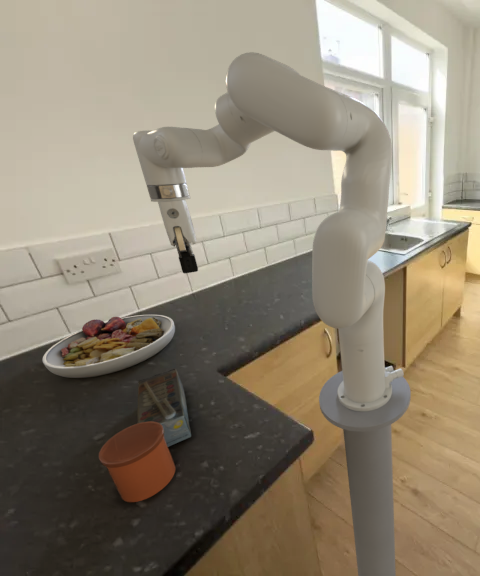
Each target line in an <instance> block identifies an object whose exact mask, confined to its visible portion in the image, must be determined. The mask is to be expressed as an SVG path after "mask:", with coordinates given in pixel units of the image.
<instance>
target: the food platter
mask: <svg viewBox="0 0 480 576" xmlns="http://www.w3.org/2000/svg"><path fill="white" fill-rule="evenodd" d="M175 332H176V325H175V322H174V320H173V319H172V318H171V317H170V316H166V315H163V314H140V315H132V316H131V315H130V316H126V317H120V316H113V317H111V318H109V319H108V321H105V322H104V320H101V319H91V320H89V321H88V322H86V323H84V324H83V325H82V328H81V330H79V331H77V332H75V333H73V334H70V335H68V336H67V337H64V338H62V339H61V340H58V342H56V343H54V344H53V345H52V346H51V347H49V348H48V349H47V351H46V352H44V354H43V356H42V363H43V365H44V367H45V369H47V371H49V372H50V373H52V374H53V375H55V376H58V377H63V378H70V379H86V378H94V377H100V376H104V375H108V374H112V373H115V372H120V371H123V370H126V369H128V368H131V367H133V366H135V365H138V364H141V363H142V362H144V361H146V360H148V359H150V358H152V357H154V356H155V355H157V354H158V353H160V352H161V351H162V350H163V349H165V347H167V346H168V345H169V343H170V342H171V341H172V339H173V337H174V336H175Z"/></svg>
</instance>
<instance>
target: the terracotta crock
mask: <svg viewBox="0 0 480 576" xmlns="http://www.w3.org/2000/svg"><path fill="white" fill-rule="evenodd" d="M98 460H99V461H100V464H101V465H102V466H103V467H105V468H106V470H107V472H108V474H109V476H110V478H111V480H112V482H113V484H114V486H115V488H116V490H117V491H118V494H119V497H120V498H121V500H123V501H124V502H127V503H137V502H138V503H139V502H141V501H145V500H147V499H150V498H151V497H153V496H155V495H157V494H158V493H159V492H160V491H162V490H163V489H164V488H165V487H166V486H167V485H168V484H169V483H170V482H171V481H172V479H173V478H174V476H175V473H176V464H175V461H174V458H173V456H172V453H171V450H170V448H169V447H168V445H167V443H166V440H165V437H164V429H163V426H162V425H161V424H160V423H158V422H153V421H149V422H142V423H138V422H137V423H135V424H133V425H130V426H127V427H126V428H124V429H122V430H120V431H119V432H116V433H115V434H114V435H113V436H111V437H110V438H109V439H108V440H107V441H106V442H105V443H104V444H103V445H102V447H101V448H100V450H99V452H98Z"/></svg>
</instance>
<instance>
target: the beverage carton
mask: <svg viewBox="0 0 480 576" xmlns="http://www.w3.org/2000/svg"><path fill="white" fill-rule="evenodd" d="M188 413H189V412H188V407H187V400H186V394H185V389H184V386H183V382H182V381H181V378H180V375H179V373H178V370H177V369H176V368H173V369H170V370H167V371H164V372H161V373H157V374H154V375H151V376H149V377H146V378H142V379H139V380H138V385H137V424H138V423H142V422H149V421H153V422H158V423H160V424H161V425H162V426H163V429H164V437H165V440H166V443H167V445H168V448H169V447H172V446H173V445H175V444H177V443H180V442H182V441H185V440H187V439H189V438H191V437H192V430H191V427H190V421H189V414H188Z"/></svg>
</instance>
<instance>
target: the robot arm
mask: <svg viewBox="0 0 480 576" xmlns="http://www.w3.org/2000/svg"><path fill="white" fill-rule="evenodd" d="M225 87H226V88H225V89H226V91H227V92H226V93H223V94H222V95H220V96H219V97H217V99H216V101H215V103H214V113H215V118H216V120H217V123H218V124H217V125H215V126H213V127H211V128H207V129H203V128H201V129H200V128H191V127H178V126H162V127H158V128H156V129H153V130H149V129H147V130H138V131H136V132H134V133H133V135H132V140H133V145H134V147H135V151H136V155H137V159H138V161H139V165H140V168H141V171H142V172H141V173H142V175H143V179H144V182H145V185H146V188H147V192H148V195H149V198H150V199H149V200H150V202H153V203H157V205H158V208H159V211H160V212H159V213H160V216H161V219H162V222H163V225H164V228H165V232H166V235H167V238H168V241H169V243H170V246H172V247H175V248H176V251H177V254H178V261H179V264H180V268H181V271H182V273H183V274H191V273H197V272H198V271H199V267H198V263H197V260H196V255H195V253H194V252H193V248H192V245H196V243H197V235H196V231H195V227H194V224H193V219H192V216H191V213H190V209H189V206H188V203H187V200H190V199H191V195H190V190H189V186H188V183H187V178H186V174H185V170H184V169H192V168H193V169H194V168H215V167H220V166H224V165H225V164H227V163H230V162H232V161H234V160H236V159H238V158H240V157H242V156H243V155H244V154H245V153H247V151H248V150H249V148H250V147H251V144H252V143H254V142H256V141H258V140H260V139H262V138H264V137H265V136H267V135H270V134H272V133H274V132H276V133H277V134H280V135H282V136H284V137H285V138H288V139H289V140H291V141H293V142H295V143H297V144H300V145H302V146H304V147H306V148H309V149H312V150H318V151H330V152H331V151H333V152H337V151H340V152H343V153H344V154H345V164H344V167H343V171H342V174H341V180H340V181H341V182H340V204H339V209H338V211H337V212H334V213H332V214H330V215H328V216H326V217H325V218H324V219H323V220H322V221H320V223H319V225H318V227H317V228H316V231H315V233H314V235H313V236H314V238H313V241H312V251H311V252H312V254H311V255H312V256H311V258H312V259H311V260H312V261H311V267H312V269H311V299H312V305H313V308H314V311H315V313H316V315H317V317H318V318H319V319H320V321H321V322H322V323H324V324H325V325H326V326H328V327H330V328H333V329H337V330H338V339H339V351H340V361H341V371H342V372H343V381H342V382H341V384H340V385H339V387H338V391H337V392H338V399H339V401H340V403H341V404H342V405H343V406H345V407H346V408H348V409H350V410H354V411H361V412H362V411H371V410H375V409H378V408H380V407H382V406H383V405H385V404H386V403H387V402H388V401H389V399H390V398H391V395H392V385H391V382H392V381H393V379H397V378H400V377H402V376H403V377H404V376H405V374H404V370H403V369H402V368H398V369H394V367H393V365H390V366H386V365H385V340H384V338H385V337H384V335H385V333H384V307H385V295H386V281H385V277H384V274H383V271H382V269H380V267H379V266H378V265H377V264H376V263H374V262H373V261H372V260H369V259H370V258H372V257H373V256H375V254H377V253H378V252H379V251H380V250H381V248H382V247H383V245H384V243H385V240H386V231H387V230H386V228H387V217H388V209H389V208H388V207H389V200H390V199H389V198H390V184H391V175H392V174H391V173H392V163H393V146H392V139H391V136H390V135H391V134H390V133H389V130H388V128H387V125H386V124H385V122H384V121H383V119H382V117H380V116H379V114H378V113H376V111H375V110H373V109H372V108H371V107H370V106H368V105H367V104H365V103H364V102H362V101H360V100H358V99H357V98H354V97H353V96H350V95H348V94H345V93H343V92H339V91H337V90H335V89H332V88H330V87H327V86H325V85H322V84H321V83H318V82H316V81H314V80H312V79H310V78H307V77H305V76H303V75H301V74H300V73H299V72H298V71H297V70H296V69H294V68H293V67H291V66H290V65H287V64H285V63H283V62H280V61H278V60H276V59H273V58H271V57H269V56H267V55H265V54H262V53H259V52H254V51H250V52H244V53H241V54H239V55H238V56H236V57H235V58H234V59H233V60H232V61H231V63H230V64H229V66H228V68H227V71H226V76H225ZM385 367H386V368H385ZM393 370H394V371H393ZM392 371H393V372H392ZM390 372H391V373H390Z"/></svg>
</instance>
